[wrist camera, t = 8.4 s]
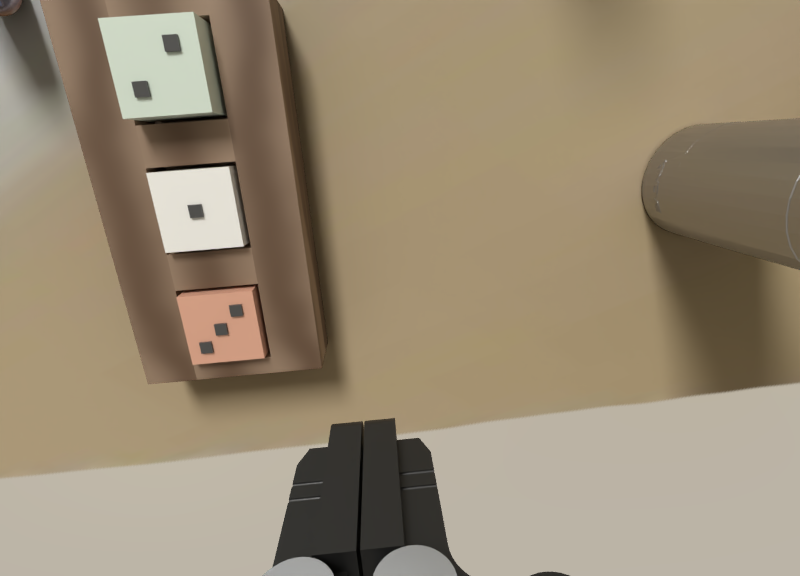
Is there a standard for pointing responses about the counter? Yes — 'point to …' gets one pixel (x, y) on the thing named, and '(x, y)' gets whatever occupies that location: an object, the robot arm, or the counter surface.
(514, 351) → the counter surface
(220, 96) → the two dot button
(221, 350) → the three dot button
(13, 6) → the tin
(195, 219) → the one dot button
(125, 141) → the console
